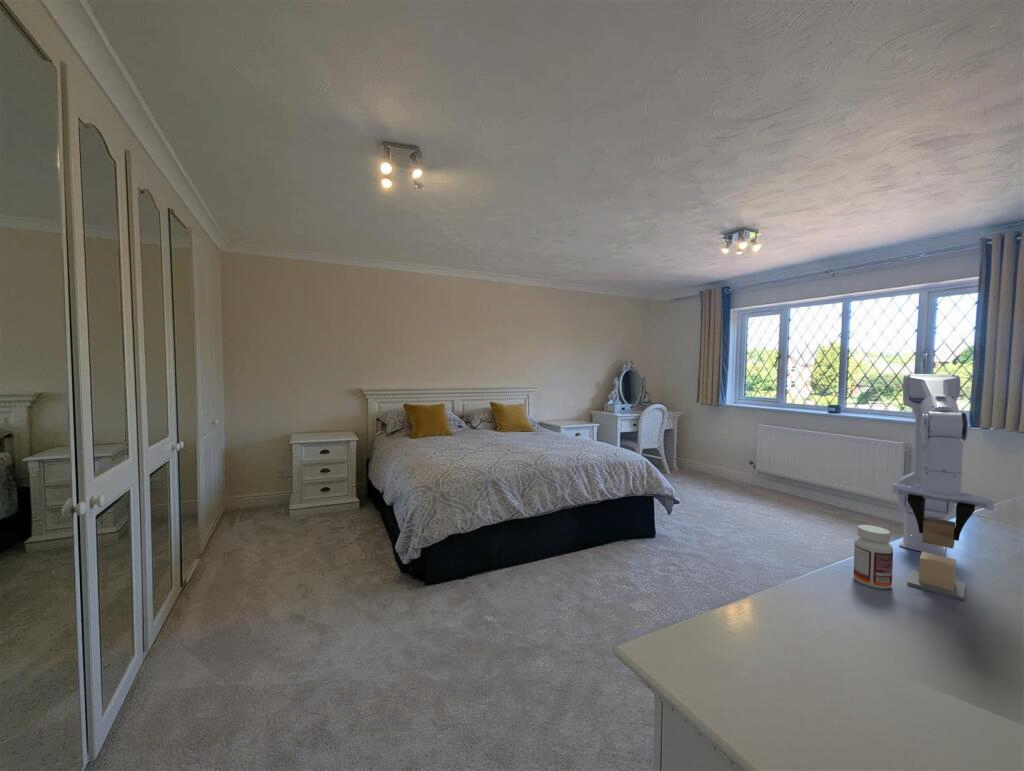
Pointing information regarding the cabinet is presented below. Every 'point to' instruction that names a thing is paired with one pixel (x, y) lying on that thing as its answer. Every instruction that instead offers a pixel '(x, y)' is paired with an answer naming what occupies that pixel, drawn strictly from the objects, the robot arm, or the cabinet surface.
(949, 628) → the cabinet surface
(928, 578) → the tower base
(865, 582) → the pill bottle
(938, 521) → the walnut block
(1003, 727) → the cabinet surface
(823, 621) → the cabinet surface
